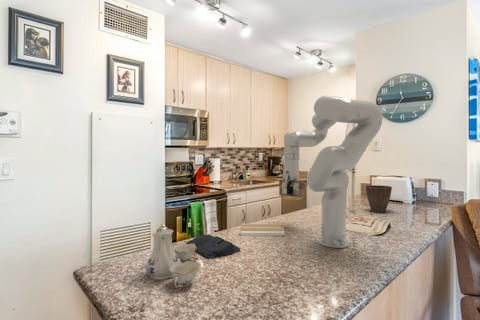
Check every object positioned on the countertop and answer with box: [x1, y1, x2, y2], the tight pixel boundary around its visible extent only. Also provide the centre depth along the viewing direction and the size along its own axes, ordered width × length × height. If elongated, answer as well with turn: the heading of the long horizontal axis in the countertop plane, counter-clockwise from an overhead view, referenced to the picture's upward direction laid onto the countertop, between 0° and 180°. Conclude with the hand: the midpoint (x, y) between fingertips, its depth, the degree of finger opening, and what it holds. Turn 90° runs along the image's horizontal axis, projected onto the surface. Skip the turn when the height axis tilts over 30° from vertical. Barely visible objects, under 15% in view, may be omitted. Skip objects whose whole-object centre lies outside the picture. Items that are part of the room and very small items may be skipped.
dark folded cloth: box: [185, 234, 241, 260], centre depth 113 cm, size 15×22×5 cm
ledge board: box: [240, 223, 286, 237], centre depth 134 cm, size 20×12×3 cm, turn 88°
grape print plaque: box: [346, 214, 392, 236], centre depth 146 cm, size 28×6×30 cm
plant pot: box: [365, 184, 393, 214], centre depth 177 cm, size 15×15×16 cm
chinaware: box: [144, 222, 200, 289], centre depth 90 cm, size 28×17×17 cm, turn 16°
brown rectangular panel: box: [278, 178, 306, 198], centre depth 142 cm, size 12×4×8 cm, turn 56°
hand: (291, 193), depth 142 cm, fingers closed on brown rectangular panel, 4 cm apart
